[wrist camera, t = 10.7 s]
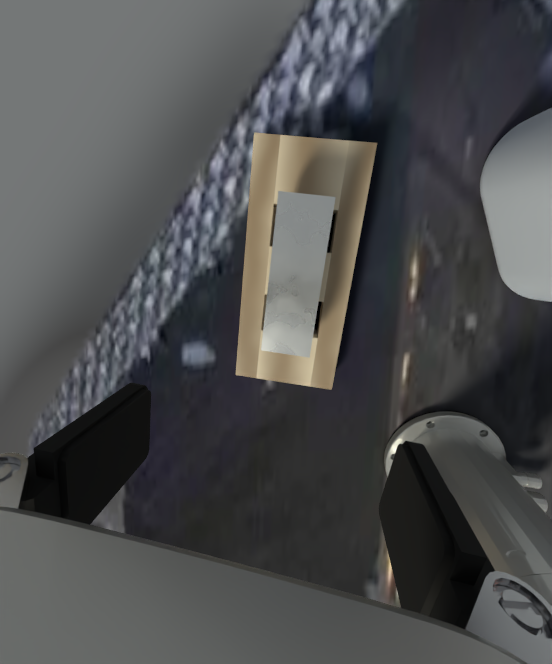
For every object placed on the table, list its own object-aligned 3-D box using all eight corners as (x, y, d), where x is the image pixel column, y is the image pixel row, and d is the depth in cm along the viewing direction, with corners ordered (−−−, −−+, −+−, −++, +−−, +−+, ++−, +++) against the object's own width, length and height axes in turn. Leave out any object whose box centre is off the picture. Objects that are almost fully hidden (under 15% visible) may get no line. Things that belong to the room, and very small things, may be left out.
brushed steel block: (328, 211, 28) (335, 197, 20) (310, 330, 31) (309, 357, 23) (287, 206, 28) (278, 190, 20) (273, 325, 31) (261, 350, 24)
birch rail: (370, 154, 26) (377, 142, 23) (329, 377, 32) (331, 389, 29) (260, 145, 27) (254, 132, 24) (242, 363, 33) (235, 374, 30)
